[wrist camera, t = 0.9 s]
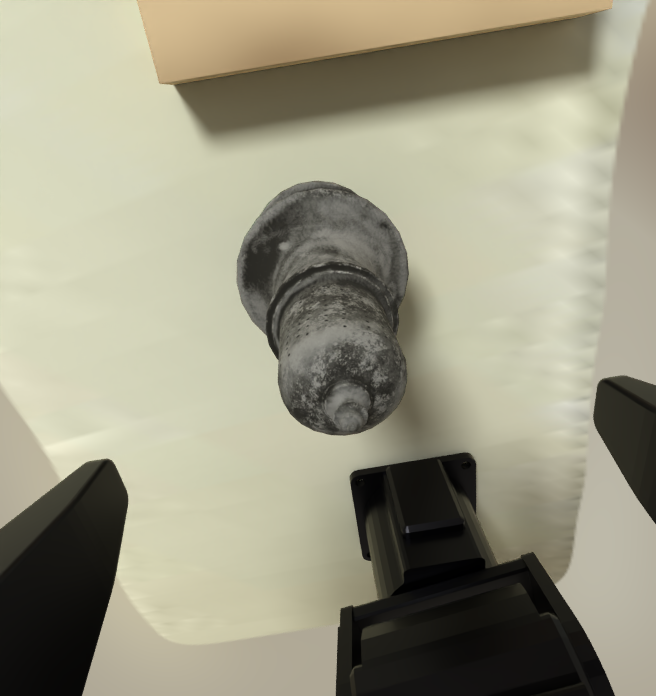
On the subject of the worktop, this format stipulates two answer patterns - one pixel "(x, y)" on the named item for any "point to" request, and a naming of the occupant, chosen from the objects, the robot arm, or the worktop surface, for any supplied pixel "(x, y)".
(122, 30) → the worktop surface
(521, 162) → the worktop surface
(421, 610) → the robot arm
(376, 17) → the dock
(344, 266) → the salt shaker
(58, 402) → the worktop surface
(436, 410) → the worktop surface
